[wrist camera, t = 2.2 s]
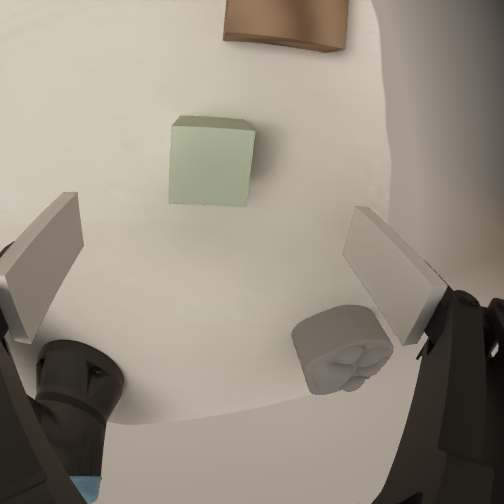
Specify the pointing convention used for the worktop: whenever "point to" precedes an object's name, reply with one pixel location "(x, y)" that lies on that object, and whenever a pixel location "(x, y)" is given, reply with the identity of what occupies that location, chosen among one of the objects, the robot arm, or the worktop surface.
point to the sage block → (210, 161)
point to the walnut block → (288, 23)
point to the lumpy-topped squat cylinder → (341, 348)
